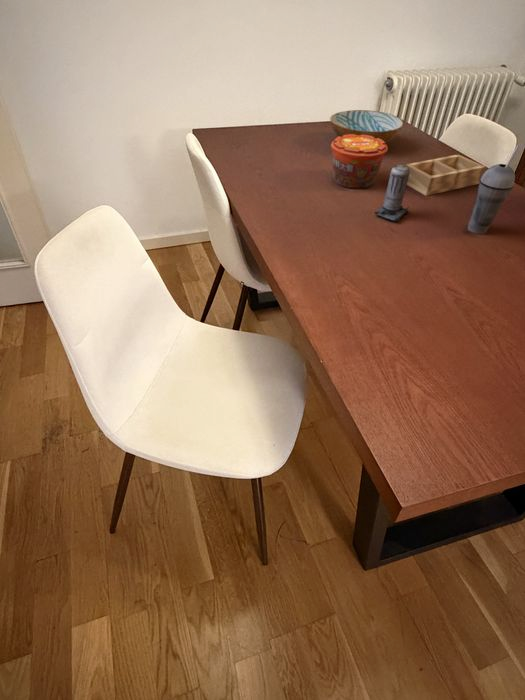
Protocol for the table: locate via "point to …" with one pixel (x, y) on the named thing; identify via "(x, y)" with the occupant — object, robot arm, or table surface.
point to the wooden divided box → (443, 174)
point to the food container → (357, 160)
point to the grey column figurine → (395, 194)
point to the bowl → (366, 124)
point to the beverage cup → (491, 195)
